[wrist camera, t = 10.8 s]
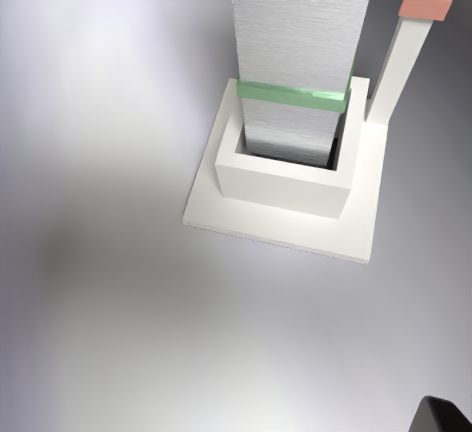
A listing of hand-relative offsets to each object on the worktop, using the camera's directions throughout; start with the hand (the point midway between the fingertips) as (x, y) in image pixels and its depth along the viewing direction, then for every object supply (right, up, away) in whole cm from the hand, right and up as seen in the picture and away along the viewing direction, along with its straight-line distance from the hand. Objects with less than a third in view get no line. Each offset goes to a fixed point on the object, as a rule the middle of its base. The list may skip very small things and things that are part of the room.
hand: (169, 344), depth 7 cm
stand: (+5, +5, +17) cm, 18 cm away
